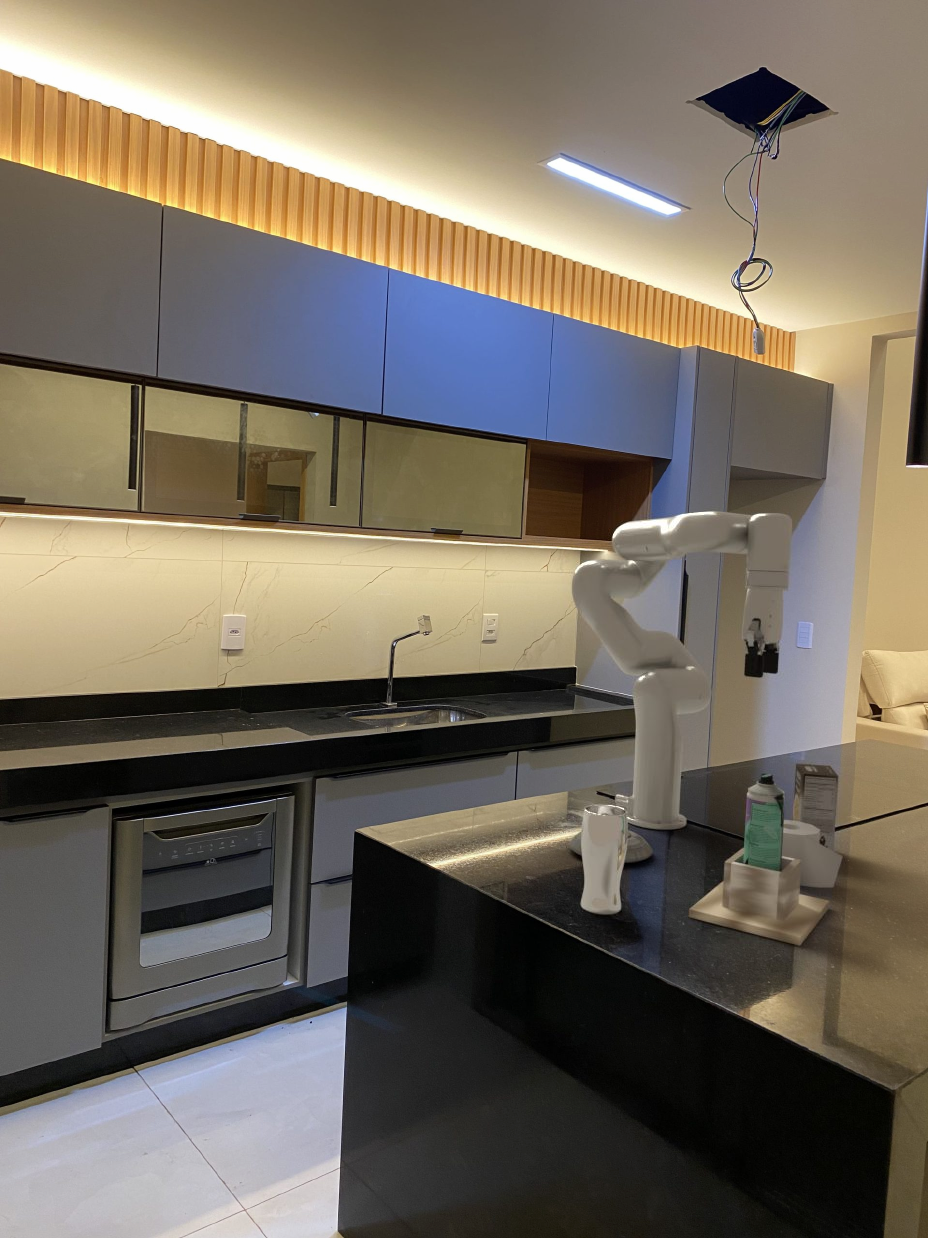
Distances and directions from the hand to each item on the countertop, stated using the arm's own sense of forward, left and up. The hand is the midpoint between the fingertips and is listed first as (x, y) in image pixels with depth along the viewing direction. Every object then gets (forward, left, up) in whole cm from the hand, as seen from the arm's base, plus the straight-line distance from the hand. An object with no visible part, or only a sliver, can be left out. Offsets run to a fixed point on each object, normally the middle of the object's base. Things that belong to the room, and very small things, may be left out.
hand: (761, 674), depth 165 cm
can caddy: (+10, -29, -33) cm, 45 cm away
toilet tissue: (+10, -8, -34) cm, 36 cm away
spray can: (+10, -29, -32) cm, 44 cm away
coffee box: (+9, +8, -34) cm, 36 cm away
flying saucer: (-20, -18, -34) cm, 43 cm away
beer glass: (-10, -43, -34) cm, 55 cm away
